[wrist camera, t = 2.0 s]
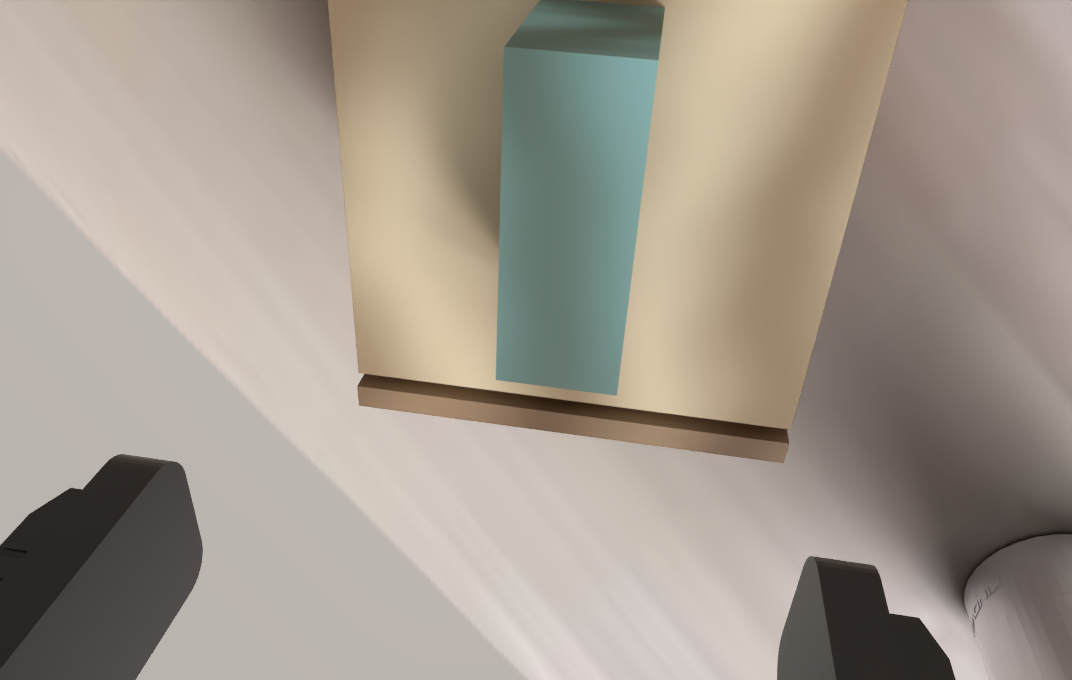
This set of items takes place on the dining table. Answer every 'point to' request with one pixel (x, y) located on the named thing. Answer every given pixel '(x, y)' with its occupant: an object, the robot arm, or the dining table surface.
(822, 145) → the lid
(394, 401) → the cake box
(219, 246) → the dining table surface
